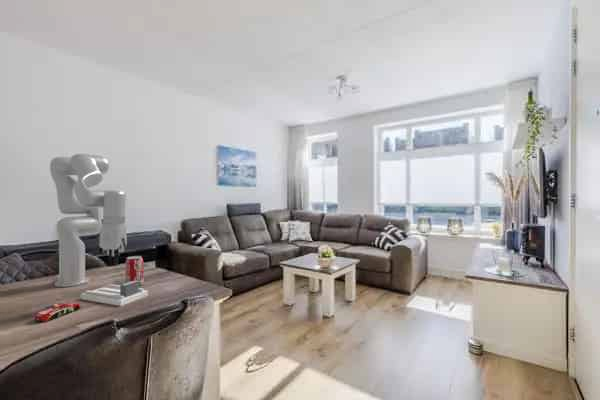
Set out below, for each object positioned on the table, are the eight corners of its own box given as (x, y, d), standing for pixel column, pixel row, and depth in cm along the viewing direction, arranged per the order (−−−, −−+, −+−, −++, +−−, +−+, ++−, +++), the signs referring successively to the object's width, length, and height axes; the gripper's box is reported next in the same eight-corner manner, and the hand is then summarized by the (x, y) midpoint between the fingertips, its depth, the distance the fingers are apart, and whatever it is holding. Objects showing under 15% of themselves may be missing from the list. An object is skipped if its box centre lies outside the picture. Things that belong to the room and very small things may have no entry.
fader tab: (120, 296, 109) (120, 284, 109) (133, 291, 114) (133, 280, 114) (126, 296, 108) (125, 285, 108) (138, 292, 113) (138, 281, 113)
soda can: (135, 287, 126) (135, 259, 126) (121, 286, 128) (121, 258, 127) (147, 283, 133) (146, 255, 133) (134, 282, 135) (134, 255, 134)
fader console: (80, 299, 112) (80, 291, 112) (109, 289, 123) (109, 283, 123) (121, 306, 105) (121, 298, 105) (148, 295, 116) (147, 288, 116)
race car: (72, 307, 104) (72, 296, 104) (83, 308, 103) (84, 298, 103) (31, 322, 91) (31, 310, 91) (43, 324, 90) (43, 311, 90)
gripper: (91, 220, 113) (91, 265, 113) (119, 222, 108) (118, 269, 108) (109, 218, 120) (109, 261, 120) (136, 221, 115) (135, 265, 115)
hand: (113, 265), depth 114 cm, fingers closed
